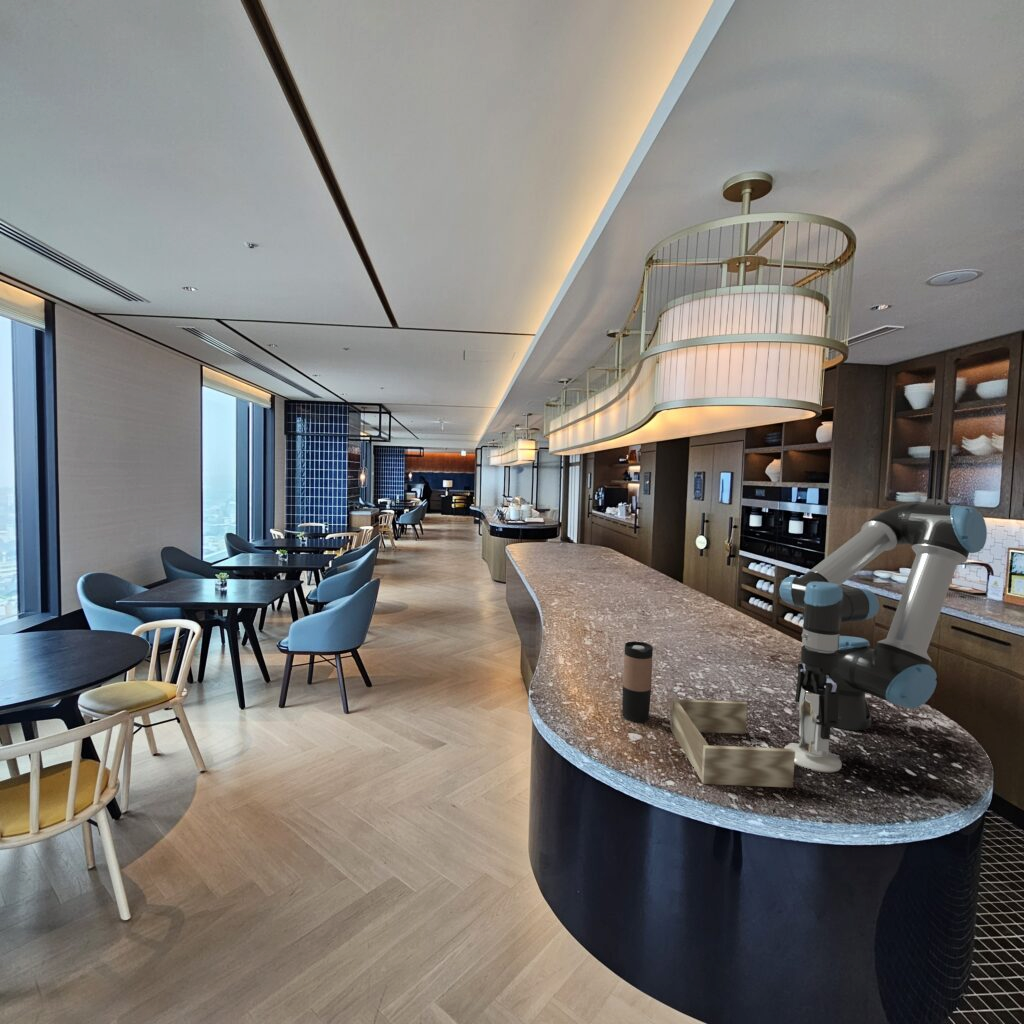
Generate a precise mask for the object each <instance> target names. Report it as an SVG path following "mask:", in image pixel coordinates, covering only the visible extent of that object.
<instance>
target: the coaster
mask: <svg viewBox="0 0 1024 1024" xmlns="http://www.w3.org/2000/svg"><path fill="white" fill-rule="evenodd" d="M798 746H799V743H789V744H787V745H785V746H784V748H785V749H793V750H794V751H795V762H794V765H796V766H799V767H801V768H803V767H804V768H805V769H806V768H807V770H809V769H811V770H810V771H813V772H814V771H815V772H819V773H826V774H827V773H836V772H839V771H841V769H842V766H843V765H842V761H841V760H840V758H839V757H838V756H837V755H835V754H833V753H832V752H831V751H829V750H828V754H827V756H825V757H814V756H810V755H808V754H805V753H803V752H802V751H801V750H800V749H799V747H798ZM804 768H803V769H804Z"/></svg>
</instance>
